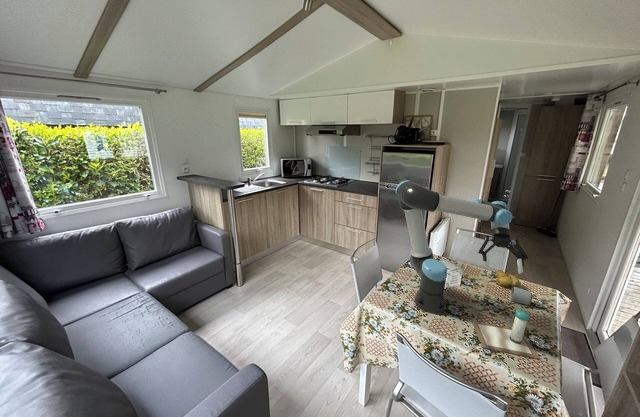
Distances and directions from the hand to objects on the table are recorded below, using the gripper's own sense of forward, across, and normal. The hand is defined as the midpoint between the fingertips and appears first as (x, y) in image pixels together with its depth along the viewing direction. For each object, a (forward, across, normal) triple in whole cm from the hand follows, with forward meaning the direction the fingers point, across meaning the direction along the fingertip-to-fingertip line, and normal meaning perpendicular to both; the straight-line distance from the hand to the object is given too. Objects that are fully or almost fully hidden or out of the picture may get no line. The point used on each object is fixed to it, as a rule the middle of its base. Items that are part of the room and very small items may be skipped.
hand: (503, 270), depth 120 cm
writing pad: (+30, +1, -4) cm, 30 cm away
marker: (+29, -4, -4) cm, 30 cm away
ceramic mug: (+6, -17, -29) cm, 34 cm away
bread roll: (-4, -17, -40) cm, 43 cm away
